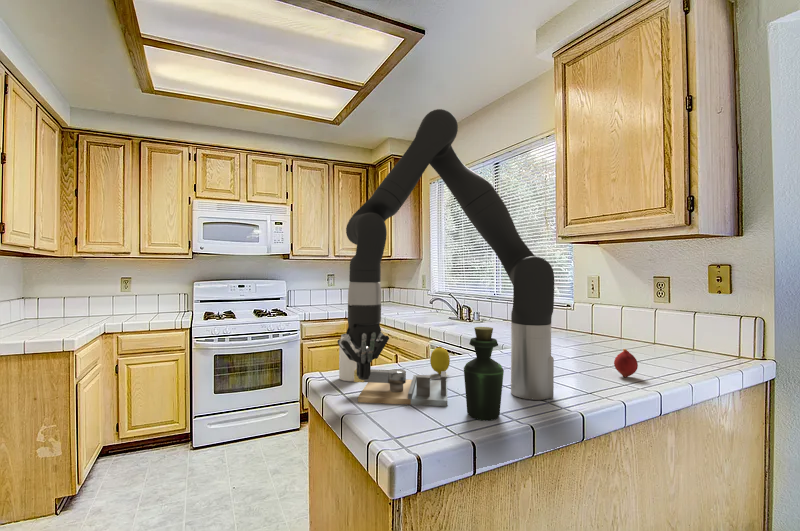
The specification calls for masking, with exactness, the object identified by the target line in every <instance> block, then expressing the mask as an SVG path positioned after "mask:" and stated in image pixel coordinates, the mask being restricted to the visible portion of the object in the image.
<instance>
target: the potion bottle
mask: <svg viewBox="0 0 800 531" xmlns="http://www.w3.org/2000/svg"><path fill="white" fill-rule="evenodd" d="M493 330H494V327H490V326H476V327H474V333H475V337H471V338H470V341H469V345H470V346H471V347H473V348H474V352H475V355H476V357H475V358H473V359H471V360H470V361H467V362H466V363H465V365H464V367H463V374H464V375H463V376H464V386H465V388H464V390H465V400H466V412H467V415H468V417H470V418H472V419H474V420H477V421H483V420H485V421H486V420H488V421H495V420H496V419H498V418H499V417H500V415H501V405H502V404H501V403H502V394H503V381H504V375H505V374H504V371H505V370H504V368H503V366H502V365H501V364H500V363H499V362H497V361H495V360H494V359H493V358H492V354H493V350H494V348H496V347H498V346H499V343H498V340H497V339H496V338H493V337H492V336H493ZM494 419H495V420H494ZM488 421H487V422H488Z"/></svg>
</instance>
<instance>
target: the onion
mask: <svg viewBox="0 0 800 531" xmlns="http://www.w3.org/2000/svg"><path fill="white" fill-rule="evenodd" d="M613 365H614V366H613V367H614V368H615V369H616V371H617V372H618V373H619V374H620V375H621V376H622V377H624V378H628V377H630V376H632V375H633V374H635V373H636V372H637V370H638V367H639V365H638V360H637V358H636V357H635V356H634V355H633V354H632V353H631V352H630V351H629V350H628V349H626V348H623V349H622V352H619V353H618V354H617V355H616V357H615V359H614V362H613Z"/></svg>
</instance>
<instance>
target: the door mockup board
mask: <svg viewBox="0 0 800 531" xmlns="http://www.w3.org/2000/svg"><path fill="white" fill-rule="evenodd" d="M357 402H358V403H363V404H364V403H368V404H369V403H371V404H389V405H390V404H393V405H394V404H395V405H413V406H437V407H440V406H441V407H448V380H447V370H446V371H441V374H440V380H435V379H433V380H432V379H431V375H429V374H428V375H427V374H414V375H413V376H412V379H407V378H406V383H404V384H400V385H394V384H389V383H372V382H366V385H365V386H364V387H363V389H362V390H361V392H360V394H359V395H358V396H357Z"/></svg>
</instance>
